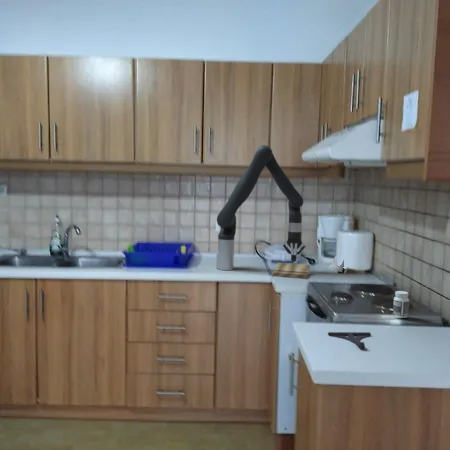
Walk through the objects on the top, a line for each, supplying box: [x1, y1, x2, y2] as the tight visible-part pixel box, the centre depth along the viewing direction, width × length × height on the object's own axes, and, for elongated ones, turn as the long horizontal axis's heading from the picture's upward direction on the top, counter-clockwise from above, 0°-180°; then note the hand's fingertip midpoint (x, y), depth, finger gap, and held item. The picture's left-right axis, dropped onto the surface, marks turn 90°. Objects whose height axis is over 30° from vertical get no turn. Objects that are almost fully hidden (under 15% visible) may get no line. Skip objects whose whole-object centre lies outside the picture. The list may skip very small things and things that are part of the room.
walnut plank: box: [271, 269, 309, 280], centre depth 262 cm, size 18×7×2 cm, turn 73°
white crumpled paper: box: [328, 254, 348, 274], centre depth 281 cm, size 17×5×10 cm, turn 5°
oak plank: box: [274, 262, 311, 274], centre depth 269 cm, size 18×7×2 cm, turn 73°
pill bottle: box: [392, 290, 410, 316], centre depth 189 cm, size 6×6×10 cm
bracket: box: [327, 331, 372, 351], centre depth 160 cm, size 14×15×3 cm
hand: (293, 261), depth 272 cm, fingers closed
